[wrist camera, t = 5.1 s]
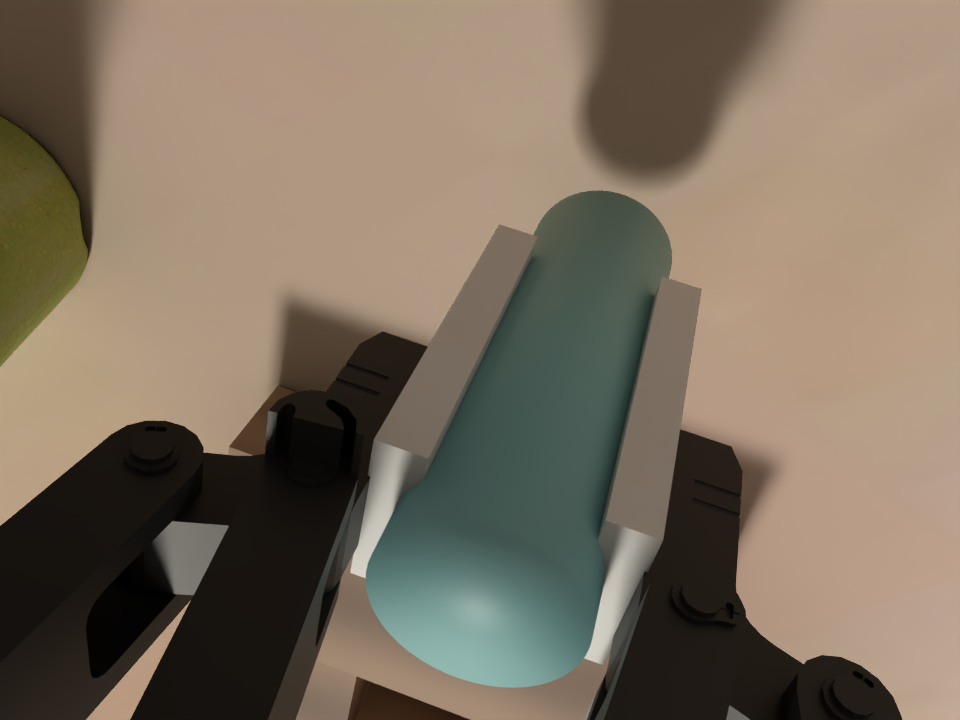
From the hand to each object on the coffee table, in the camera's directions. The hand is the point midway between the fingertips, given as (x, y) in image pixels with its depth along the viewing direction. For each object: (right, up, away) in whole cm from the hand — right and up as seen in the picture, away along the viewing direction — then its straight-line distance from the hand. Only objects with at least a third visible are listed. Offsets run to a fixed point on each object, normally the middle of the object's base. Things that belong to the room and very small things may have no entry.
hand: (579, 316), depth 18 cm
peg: (+1, +1, +2) cm, 3 cm away
